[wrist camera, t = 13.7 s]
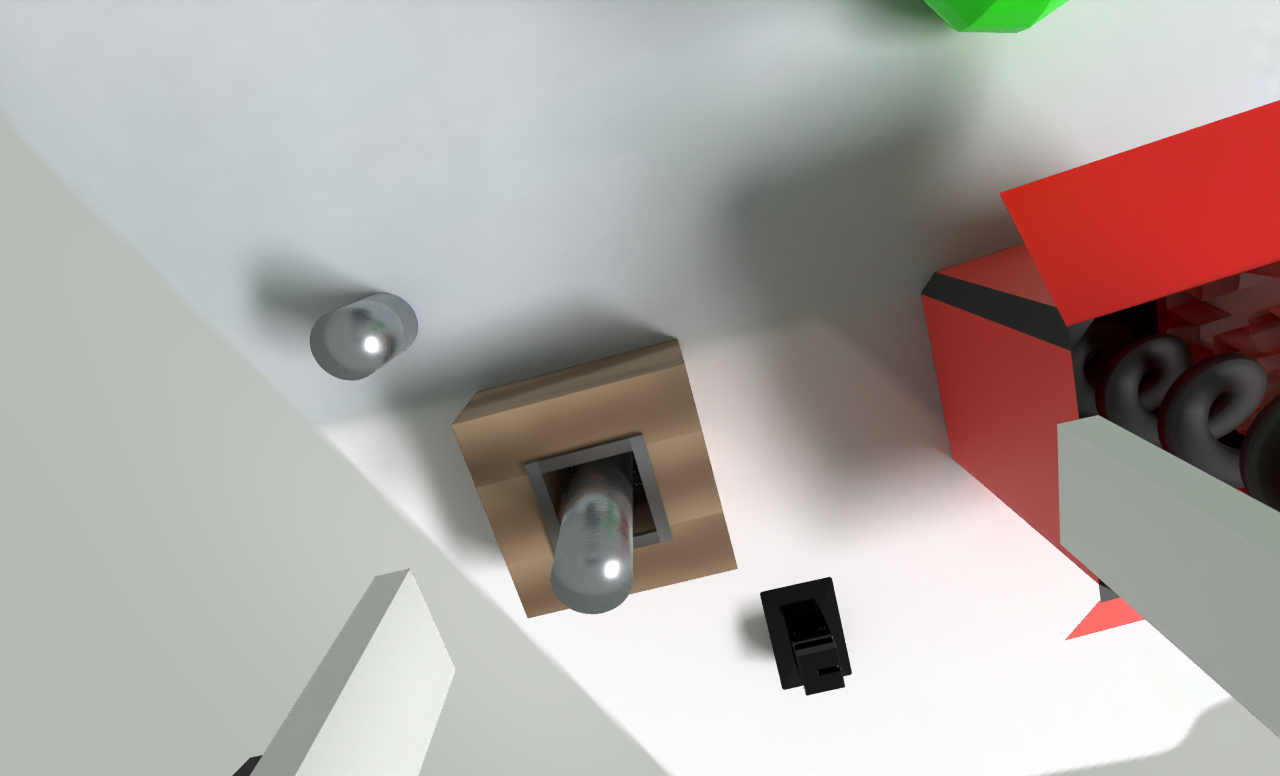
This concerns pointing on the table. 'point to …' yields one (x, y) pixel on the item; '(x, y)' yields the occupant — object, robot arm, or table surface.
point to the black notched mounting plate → (807, 636)
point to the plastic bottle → (993, 14)
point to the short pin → (363, 335)
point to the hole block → (590, 430)
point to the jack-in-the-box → (1123, 322)
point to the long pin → (596, 537)
